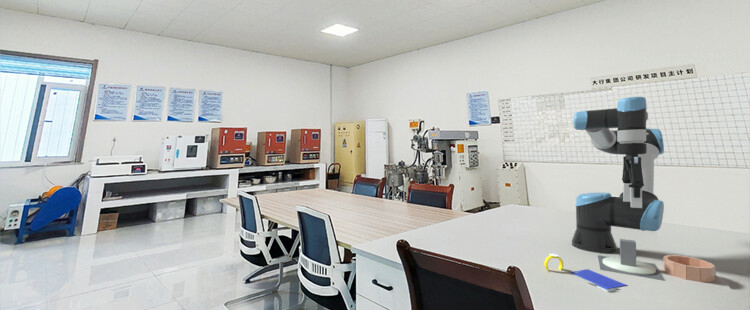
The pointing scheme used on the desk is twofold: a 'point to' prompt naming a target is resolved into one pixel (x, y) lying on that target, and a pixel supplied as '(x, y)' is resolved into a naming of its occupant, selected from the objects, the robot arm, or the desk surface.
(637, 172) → the robot arm
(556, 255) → the yellow curved ring
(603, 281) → the hard drive
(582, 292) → the desk surface
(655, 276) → the mat
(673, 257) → the bowl
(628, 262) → the lid
